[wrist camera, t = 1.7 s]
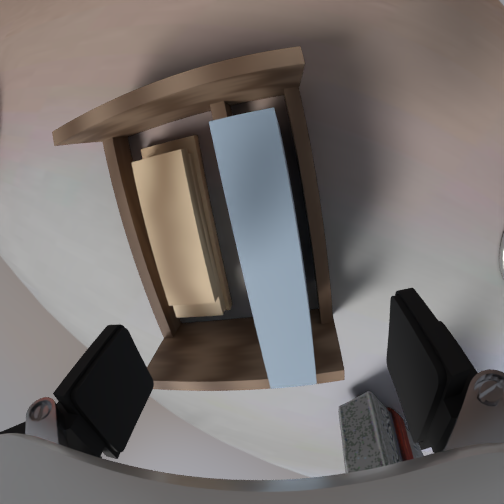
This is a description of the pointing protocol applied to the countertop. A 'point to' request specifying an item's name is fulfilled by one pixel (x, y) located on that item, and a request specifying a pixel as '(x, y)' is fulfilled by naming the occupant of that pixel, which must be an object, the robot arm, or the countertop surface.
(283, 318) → the painted sheet
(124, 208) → the walnut rack
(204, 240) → the offcut stack
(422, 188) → the countertop surface
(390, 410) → the decorative stone tablet
